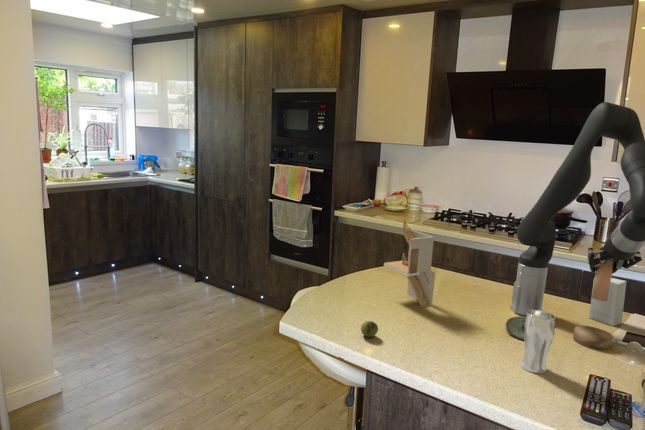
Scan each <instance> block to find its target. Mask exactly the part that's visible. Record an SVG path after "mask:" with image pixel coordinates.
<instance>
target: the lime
mask: <svg viewBox="0 0 645 430" xmlns="http://www.w3.org/2000/svg"><path fill="white" fill-rule="evenodd" d="M360 331H361V333H362V335H363V336H364V337H366V338H370V337H371V338H372V337H374V336H376V335H377V333H378V331H379V327H378V324H377V323H376V322H374V321H372V320H367V321H365V322H363V323H362V324H361V325H360Z"/></svg>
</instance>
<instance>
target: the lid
mask: <svg viewBox="0 0 645 430" xmlns="http://www.w3.org/2000/svg"><path fill="white" fill-rule="evenodd" d="M526 318H527V316H523V315H521V316H520V315H519V316H514V317H510V318H508V320H507V321H506V323H505V330H506V332H507V333H508V334H509V335H510V336H511V337H513V338H515V339H517V340H520V341H524V329H525V322H526Z"/></svg>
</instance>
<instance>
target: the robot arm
mask: <svg viewBox="0 0 645 430" xmlns="http://www.w3.org/2000/svg"><path fill="white" fill-rule="evenodd" d="M601 137H604V138H607V139H611V140H617V141H618V142H619V143H620V145H621V146H622V147H623V152H622V155H621V158H620V168H621V171H622V173H623V176H624V177H625V180H626V182H627V184H628V188H629V196H630V198H629V199H630V208H631V210H632V211H631V212H629V213H628V214H627V215H626V216H625V218H624V219H623V220H622V221H621V223H619V225H617V226H616V228H615V229H613V231H612V233H611V234H610V235H609V236H608V238H607V239H606V240H605V242H604V245H602V247H600V248H598V249H594V248H593V247H588V248H587V261H588V265H589V270H590V271H591V273H595V274H596V271H597V269H598V268H599V266H601V265H602V264H603V265H605V264H607V263H608V262H614V265H613V271H612V275H613V274H614V273H616V272H617V271H618V270H621V269H622V268H624V269H629V268H631V267H633V266H634V265H636V264H639V263H640V262H642V261H643V258H642V255H641V252H640V250H641V249H642V248H643V247H644V246H645V135H644V132H643V128H642V124H641V121H640V118H639V116H638V114H637V112H636V111H635V110H634V109H633V108H631V107H627V106H623V105H621V104H616V103H611V102H608V101H606V102H605V101H603V102H601V103H599V104H598V105H597V106H596V107H595V108H594V109H593V110H592V111H591V113H590V114H589V116H588V118H587V119H586V121H585V123H584V125H583V127H582V128H581V131H580V133H579V135H578V136H577V138H576V140H575V143H574V144H573V146H572V147H571V150H570V151H569V152H568V154H567V155H566V157H565V158H564V160H563V161H562V163H561V165H560V166H559V168H558V169H557V171H556V172H555V173H554V175H553V176H552V178H551V180H550V182H549V183H548V185H547V186H546V188H545V189H544V191H543V193H542V194H541V195H540V196H539V198H538V199H537V202H536V203H535V204H534V206H533V207H532V208H531V209H530V211H528V213H527V214H526V215H525V216H524V218H523V219H522V220H521V221H520V223H519V225H518V227H517V231H516V236H517V240H518V241H519V243H520V244H521V245H523V246H528V248H527V249H526V250H525V251H523V252H522V253H520V255H519V258H518V265H517V271H516V272H517V273H516V280H515V281H514V282H513V290H512V296H511V302H510V303H511V305H510V308H511V309H512V311H513V312H514V314H519V315H521V316H524V317H527V313H528V311H529V310H543V304H544V303H543V301H544V295H545V289H546V282H547V275H548V269H549V268H548V267H549V262H550V261H551V259H552V257H553V255H554V254H553V253H554V250H555V243H556V237H557V229H556V225H555V223H554V222H553V221H552V218H553V217H555V216H556V215H557V214H558V213H559V212H561V211H562V210H563V209H565V208H566V207H568V206H569V205H570V204H572V203H573V202H574V201H575V200H576V199H577V198H578V197H579V196H580V195H581V193H583V190H584V189H585V188H586V186H587V185H588V183H589V181H590V180H591V175H592V163H591V162H592V160H591V159H592V153H593V149H594V148H595V145H596V144H597V142H598V141H599V140H600V138H601Z"/></svg>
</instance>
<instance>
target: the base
mask: <svg viewBox="0 0 645 430" xmlns="http://www.w3.org/2000/svg"><path fill="white" fill-rule="evenodd" d="M613 337H614V336H613V335H612V334H611V333H609V332H608V331H606V330H604V329H601V328H599V327H593V326H589V325H577V326H575V327H574V330H573V335H572V339H573V341H574V342H576V343H577V344H579V345H580V346H582V347H586V348H589V349H592V350H599V351H605V350H606V351H607V350H610V349H611V348H612V345H613Z"/></svg>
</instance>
